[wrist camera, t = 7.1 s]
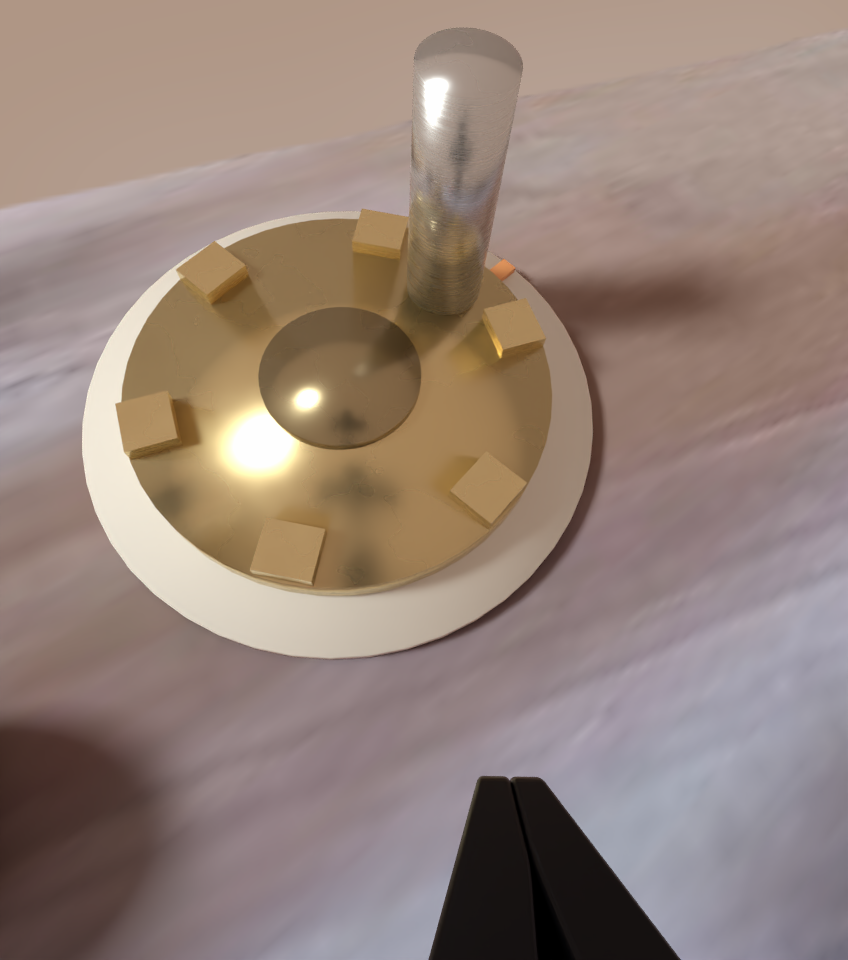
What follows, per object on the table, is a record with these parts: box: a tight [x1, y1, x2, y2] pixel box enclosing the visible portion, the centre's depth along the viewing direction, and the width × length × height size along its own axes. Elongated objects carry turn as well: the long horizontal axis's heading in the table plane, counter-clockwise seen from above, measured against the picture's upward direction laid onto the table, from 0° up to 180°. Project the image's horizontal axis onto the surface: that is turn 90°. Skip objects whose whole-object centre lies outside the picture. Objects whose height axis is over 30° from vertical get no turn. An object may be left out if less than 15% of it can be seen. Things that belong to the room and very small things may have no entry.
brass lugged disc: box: [115, 28, 552, 596], centre depth 20 cm, size 16×16×10 cm
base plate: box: [82, 211, 593, 660], centre depth 25 cm, size 20×20×1 cm
